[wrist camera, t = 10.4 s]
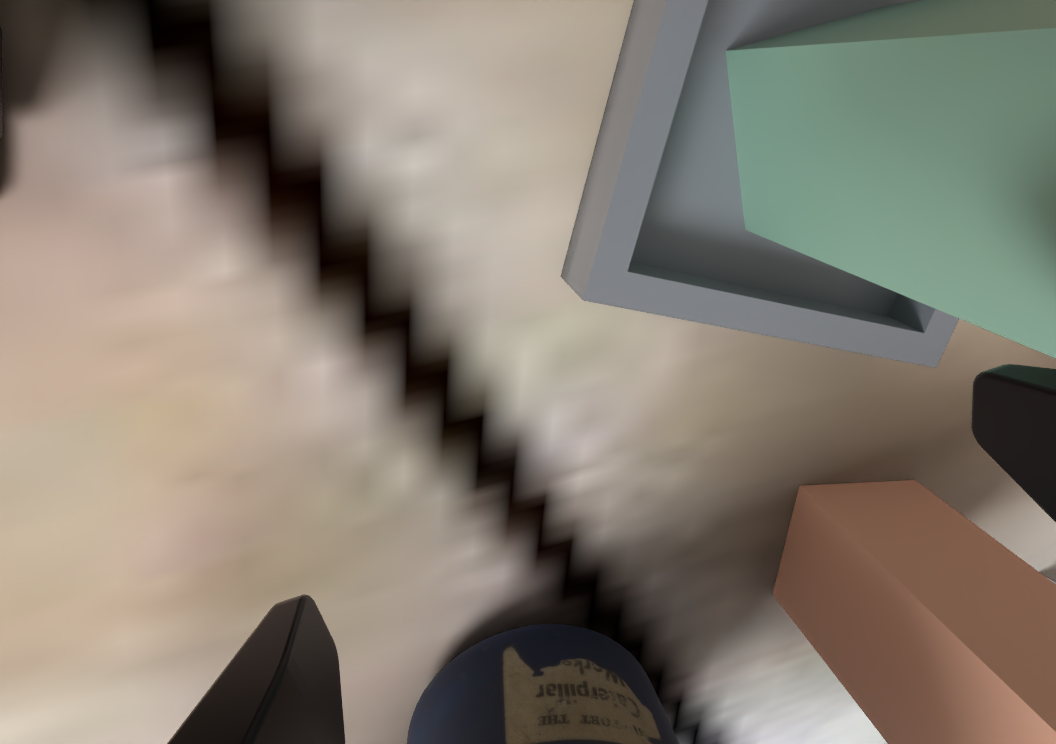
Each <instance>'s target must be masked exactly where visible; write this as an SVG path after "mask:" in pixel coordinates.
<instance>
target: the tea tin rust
mask: <svg viewBox="0 0 1056 744" xmlns="http://www.w3.org/2000/svg"><path fill="white" fill-rule="evenodd" d="M773 595H774V597H775V598H776V599H777V600H778V602H779V603H780V604H781V606H782V607H783V608H784V610H785V611H786V612H787V613H788V615H789V616H790V617H791V619H792V620H793V621H794V622H795V624H796V625H797V626H798V628H799V629H800V630H801V632H802V633H803V634H804V635H805V637H806V638H807V639H808V641H809V642H810V643H811V645H812V646H813V647H814V648H815V650H816V651H817V652H818V654H819V655H820V656H821V657H822V659H823V660H824V661H825V663H826V664H827V665H828V667H829V668H830V669H831V670H832V672H833V673H834V674H835V676H836V677H837V678H838V680H839V681H840V682H841V683H842V685H843V686H844V687H845V689H846V690H847V691H848V692H849V694H850V695H851V696H852V698H853V699H854V700H855V702H856V703H857V704H858V705H859V707H860V708H861V709H862V711H863V712H864V713H865V715H866V716H867V717H868V718H869V720H870V721H871V722H872V724H873V725H874V726H875V727H876V729H877V730H878V731H879V733H880V734H881V735H882V737H883V738H884V739H885V740H886V742H887V743H888V744H1056V585H1055V584H1054V583H1053V582H1051V581H1050V580H1049V579H1047V578H1046V577H1045V576H1043V575H1042V574H1041V573H1039V572H1038V571H1037V570H1035V569H1034V568H1033V567H1031V566H1030V565H1029V564H1027V563H1026V562H1025V561H1023V560H1022V559H1021V558H1019V557H1018V556H1017V555H1015V554H1014V553H1012V552H1011V551H1010V550H1008V549H1007V548H1006V547H1004V546H1003V545H1002V544H1000V543H999V542H998V541H996V540H995V539H994V538H992V537H991V536H990V535H988V534H987V533H986V532H984V531H983V530H982V529H980V528H979V527H978V526H976V525H975V524H974V523H972V522H971V521H970V520H968V519H967V518H966V517H964V516H963V515H962V514H960V513H959V512H957V511H956V510H955V509H953V508H952V507H951V506H949V505H948V504H947V503H945V502H944V501H943V500H941V499H940V498H939V497H937V496H936V495H935V494H933V493H932V492H931V491H929V490H928V489H927V488H925V487H924V486H923V485H921V484H920V483H919V482H917V481H916V480H903V481H883V482H863V483H842V484H822V485H802V486H799V489H798V493H797V497H796V501H795V505H794V509H793V513H792V518H791V522H790V526H789V530H788V534H787V538H786V542H785V546H784V550H783V554H782V558H781V562H780V566H779V570H778V574H777V578H776V583H775V587H774V591H773Z"/></svg>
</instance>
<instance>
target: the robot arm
mask: <svg viewBox="0 0 1056 744" xmlns="http://www.w3.org/2000/svg"><path fill="white" fill-rule="evenodd" d="M2 133H3V130H2V29H1V27H0V138H1V137H2ZM972 431H973V434H974V437H975V439H976V440H977V442H978V443H979V445H980V446H981V447H982V448H983V449H984V450H985V451H986V452H987V453H988V454H989V455H990V456H991V457H992V458H993V459H994V460H995V461H996V462H997V463H998V464H999V465H1000V466H1001V467H1002V468H1003V469H1004V470H1005V471H1006V472H1007V473H1008V474H1009V475H1010V476H1011V477H1012V478H1013V479H1014V481H1015V482H1016V483H1017V484H1018V485H1019V486H1020V487H1021V488H1022V489H1023V490H1024V491H1025V492H1026V493H1027V494H1028V495H1029V496H1030V497H1031V498H1032V499H1033V500H1034V501H1035V502H1036V503H1037V504H1038V505H1039V506H1040V507H1041V508H1042V509H1043V510H1044V511H1045V512H1046V513H1047V514H1048V515H1049V516H1050V517H1051V518H1052V519H1053V520H1054V521H1055V522H1056V369H1050V368H1040V367H1031V366H1022V365H1013V364H1008V365H1002V366H999V367H996V368H993V369H990V370H987V371H984V372H981V373H980V374H979V375H977V376H976V378H975V380H974V382H973V395H972ZM167 744H345V734H344V721H343V709H342V696H341V684H340V671H339V660H338V654H337V650H336V646H335V643H334V641H333V638H332V636H331V634H330V632H329V630H328V628H327V626H326V624H325V622H324V620H323V618H322V616H321V614H320V612H319V610H318V608H317V606H316V604H315V602H314V600H313V599H312V598H311V597H310V596H308V595H301V596H297V597H294V598H291V599H288V600H285V601H282V602H279V603H277V604H275V605H274V606H273V607H272V608H271V609H270V611H269V612H268V613H267V615H266V616H265V617H264V619H263V620H262V621H261V622H260V624H259V625H258V626H257V628H256V629H255V630H254V632H253V633H252V634H251V635H250V637H249V638H248V639H247V641H246V642H245V643H244V645H243V646H242V647H241V648H240V650H239V651H238V652H237V654H236V655H235V656H234V658H233V659H232V660H231V661H230V663H229V664H228V665H227V667H226V668H225V669H224V671H223V672H222V673H221V674H220V676H219V677H218V678H217V680H216V681H215V682H214V684H213V685H212V686H211V687H210V689H209V690H208V691H207V693H206V694H205V695H204V697H203V698H202V699H201V700H200V702H199V703H198V704H197V706H196V707H195V708H194V710H193V711H192V712H191V713H190V715H189V716H188V717H187V719H186V720H185V721H184V722H183V724H182V725H181V726H180V728H179V729H178V730H177V732H176V733H175V734H174V735H173V737H172V738H171V739H170V741H169V742H168V743H167Z"/></svg>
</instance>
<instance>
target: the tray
mask: <svg viewBox="0 0 1056 744" xmlns="http://www.w3.org/2000/svg"><path fill="white" fill-rule="evenodd" d="M913 1H920V0H634V3H633V6H632V10H631V14H630V18H629V21H628V25H627V29H626V33H625V36H624V40H623V44H622V48H621V51H620V55H619V59H618V63H617V67H616V70H615V74H614V78H613V82H612V85H611V89H610V93H609V97H608V100H607V104H606V108H605V112H604V116H603V119H602V123H601V127H600V131H599V134H598V138H597V142H596V146H595V149H594V153H593V157H592V161H591V164H590V168H589V172H588V176H587V180H586V183H585V187H584V191H583V195H582V198H581V202H580V206H579V210H578V213H577V217H576V221H575V225H574V228H573V232H572V236H571V240H570V244H569V247H568V251H567V255H566V259H565V262H564V266H563V270H562V274H561V277H562V278H563V279H564V281H565V282H566V283H567V284H568V285H569V286H570V287H571V288H572V289H573V290H574V291H575V292H576V293H577V294H578V295H579V297H580V298H581V299H582V300H584V301H589V302H594V303H600V304H605V305H610V306H615V307H621V308H626V309H631V310H636V311H641V312H647V313H652V314H657V315H662V316H668V317H673V318H678V319H683V320H688V321H694V322H699V323H704V324H709V325H715V326H720V327H725V328H730V329H735V330H741V331H746V332H751V333H756V334H762V335H767V336H772V337H777V338H782V339H788V340H793V341H798V342H803V343H808V344H814V345H819V346H824V347H829V348H835V349H840V350H845V351H850V352H855V353H861V354H866V355H871V356H876V357H882V358H887V359H892V360H897V361H902V362H908V363H913V364H918V365H923V366H929V367H934V368H936V367H937V365H938V363H939V361H940V359H941V357H942V355H943V352H944V350H945V348H946V346H947V344H948V342H949V340H950V337H951V335H952V333H953V331H954V329H955V327H956V325H957V323H958V320H959V318H957V317H954V316H952V315H950V314H947V313H945V312H942V311H940V310H937V309H935V308H933V307H930V306H928V305H925V304H923V303H921V302H918V301H916V300H913V299H911V298H909V297H906V296H904V295H901V294H899V293H896V292H894V291H892V290H889V289H887V288H884V287H882V286H880V285H877V284H875V283H872V282H870V281H867V280H865V279H863V278H860V277H858V276H855V275H853V274H851V273H848V272H846V271H843V270H841V269H839V268H836V267H834V266H831V265H829V264H826V263H824V262H822V261H819V260H817V259H814V258H812V257H810V256H807V255H805V254H802V253H800V252H798V251H795V250H793V249H790V248H788V247H785V246H783V245H781V244H778V243H776V242H773V241H771V240H769V239H766V238H764V237H761V236H759V235H757V234H754V233H752V232H749V231H747V230H745V224H744V215H743V206H742V197H741V188H740V179H739V170H738V161H737V152H736V142H735V133H734V124H733V115H732V106H731V97H730V88H729V79H728V70H727V61H726V52H725V51H726V50H730V49H734V48H737V47H741V46H744V45H748V44H752V43H755V42H759V41H763V40H766V39H770V38H773V37H777V36H781V35H784V34H788V33H791V32H795V31H799V30H802V29H806V28H809V27H813V26H817V25H820V24H824V23H828V22H831V21H835V20H838V19H842V18H846V17H849V16H853V15H856V14H860V13H864V12H867V11H871V10H874V9H878V8H882V7H885V6H889V5H893V4H898V3H905V2H913Z"/></svg>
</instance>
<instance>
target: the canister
mask: <svg viewBox="0 0 1056 744" xmlns="http://www.w3.org/2000/svg"><path fill="white" fill-rule="evenodd" d="M407 744H679V742H678V740H677V737H676V735H675V733H674V731H673V729H672V727H671V724H670V722H669V720H668V718H667V716H666V714H665V711H664V709H663V707H662V705H661V703H660V700H659V698H658V696H657V694H656V692H655V690H654V688H653V686H652V684H651V682H650V680H649V678H648V676H647V674H646V673H645V671H644V669H643V668H642V666H641V665H640V664H639V662H638V661H637V660H636V659H635V657H634V656H633V655H632V654H631V653H630V652H629V651H627V650H626V649H625V648H624V647H623V646H621V645H620V644H619V643H617V642H616V641H614V640H612V639H611V638H609V637H607V636H604V635H602V634H600V633H598V632H595V631H593V630H590V629H586V628H582V627H577V626H573V625H564V624H535V625H529V626H525V627H521V628H516V629H512V630H509V631H506V632H502V633H499V634H496V635H494V636H491V637H489V638H487V639H485V640H483V641H481V642H479V643H477V644H475V645H473V646H472V647H470V648H468V649H467V650H465V651H464V652H462V653H461V654H459V655H458V656H457V657H456V658H454V659H453V660H452V661H450V662H449V663H448V664H447V665H446V666H445V667H444V668H443V669H442V670H441V671H440V672H439V673H438V674H437V675H436V676H435V677H434V679H433V680H432V681H431V683H430V684H429V685H428V687H427V688H426V689H425V690H424V692H423V694H422V696H421V698H420V700H419V701H418V703H417V705H416V708H415V711H414V713H413V716H412V719H411V722H410V726H409V731H408V738H407Z"/></svg>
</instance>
